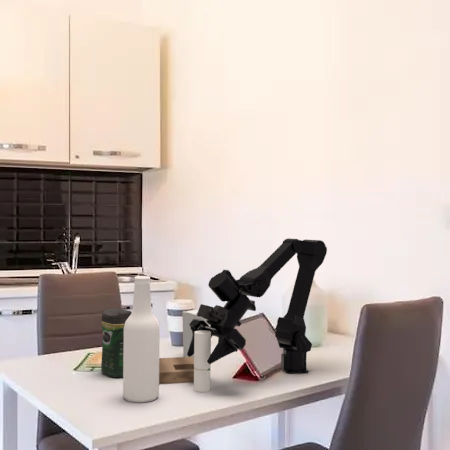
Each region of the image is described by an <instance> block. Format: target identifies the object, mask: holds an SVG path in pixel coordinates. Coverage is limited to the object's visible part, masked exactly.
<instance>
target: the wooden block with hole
mask: <svg viewBox="0 0 450 450" xmlns="http://www.w3.org/2000/svg"><path fill="white" fill-rule="evenodd" d="M180 383H181V384H183V383H184V384H185V383H194V359H193V357H184V356H183V357H182V356H178V357H159V385H160V384H161V385H163V384H165V385H167V384H180Z"/></svg>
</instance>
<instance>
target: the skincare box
mask: <svg viewBox="0 0 450 450" xmlns="http://www.w3.org/2000/svg"><path fill="white" fill-rule="evenodd" d="M198 310H199V309H191V310H184V311H182V313H181V315H182V346H183V350H182V352H183V353H182V354H183V357H189V356H188V355H187V352H188V349H189V346H190V343H191V340H192V336H193V334H192V330H191V327H190V326H189V324H190V323H191V321H192V320H193V319H200V320H204V321H205V322H206V321H207V319H205V318H203V317H201V316H200V317H199V316H197V313H198ZM206 323H207V322H206ZM207 324H208V323H207ZM208 326H209V327H210V326H211V325H210V324H208ZM190 357H193V359H194V354H193V355H192V356H190Z"/></svg>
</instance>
